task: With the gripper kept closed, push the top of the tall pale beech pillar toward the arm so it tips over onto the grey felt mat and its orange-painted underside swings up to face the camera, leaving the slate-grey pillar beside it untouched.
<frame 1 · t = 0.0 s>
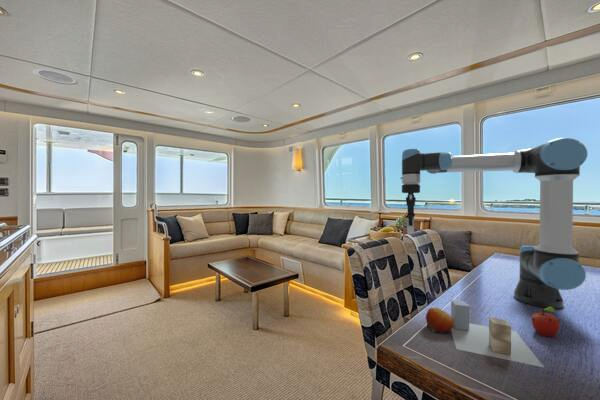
hand: (410, 231, 114), 28 cm above the table, fingers open, 13 cm apart
slate block: (459, 327, 83), resting on felt mat
apple: (545, 336, 79), on the table
felt mat: (488, 340, 76), on the table
fruit: (439, 331, 82), on the table
beech block: (499, 349, 71), resting on felt mat
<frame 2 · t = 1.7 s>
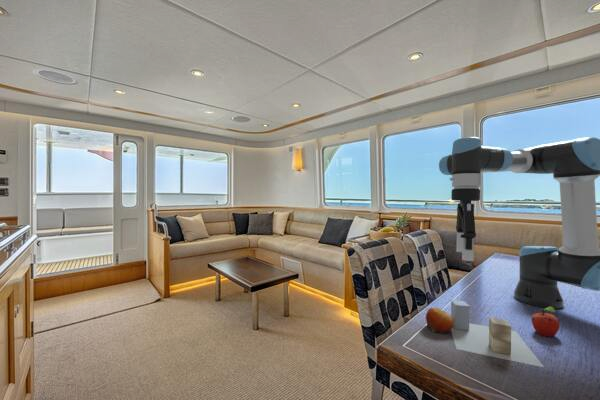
hand: (464, 256, 79), 25 cm above the table, fingers open, 13 cm apart
nothing on the table moved.
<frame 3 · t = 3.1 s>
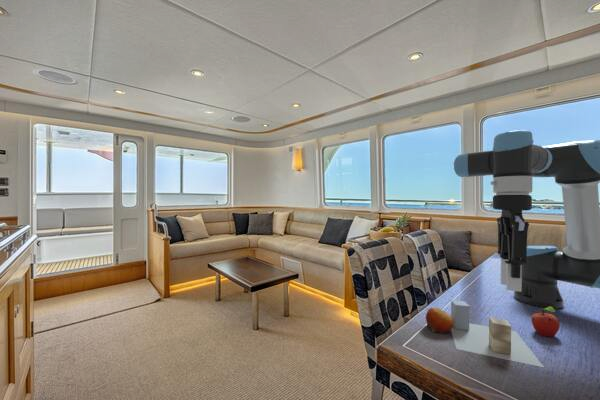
hand: (510, 287, 64), 21 cm above the table, fingers open, 4 cm apart
nothing on the table moved.
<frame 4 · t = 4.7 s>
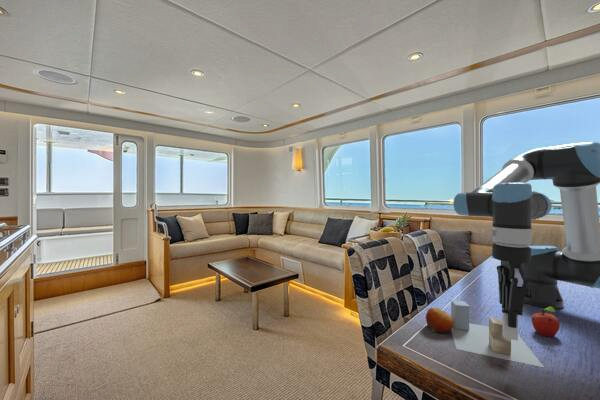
hand: (509, 337, 64), 8 cm above the table, fingers closed
nothing on the table moved.
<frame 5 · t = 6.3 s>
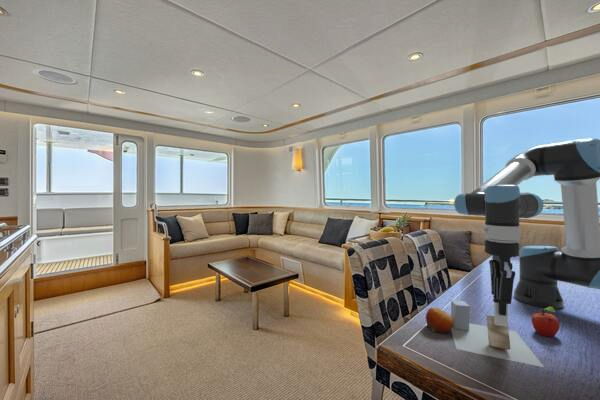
hand: (500, 324, 71), 8 cm above the table, fingers closed
beech block: (499, 347, 71), point 1 cm above the table, tilted 21°, touching felt mat
everything else where it was.
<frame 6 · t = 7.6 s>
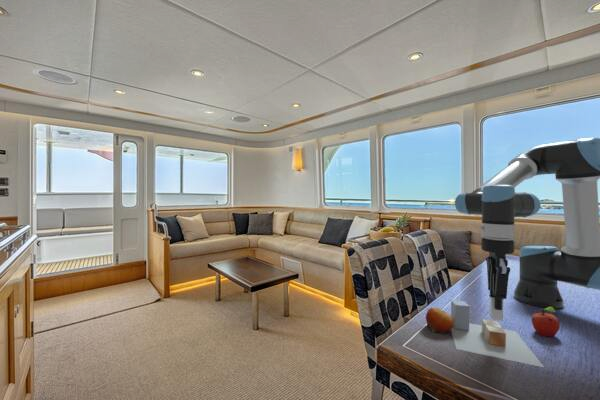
hand: (496, 319, 74), 8 cm above the table, fingers closed
beech block: (497, 339, 73), point 2 cm above the table, tilted 90°, touching felt mat
everything else where it was.
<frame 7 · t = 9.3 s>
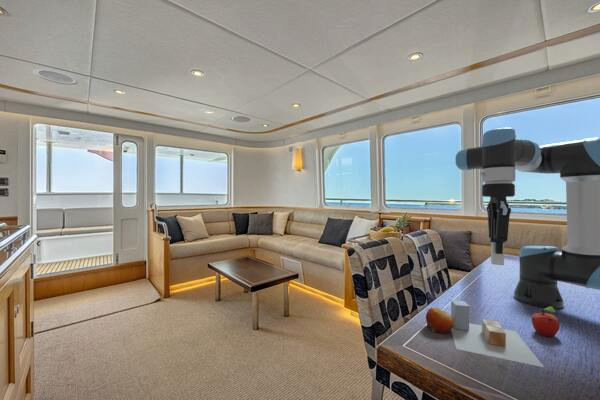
hand: (497, 264, 74), 24 cm above the table, fingers closed
nothing on the table moved.
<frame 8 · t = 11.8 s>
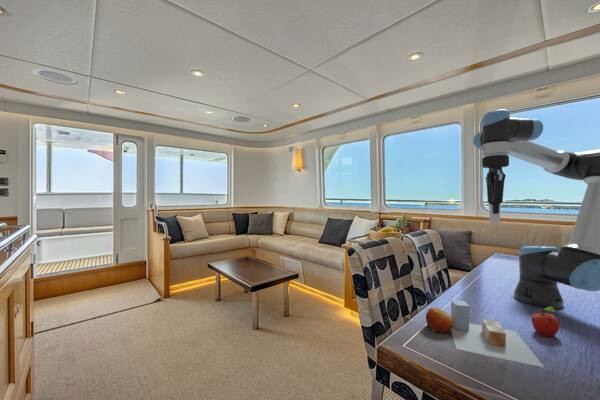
hand: (494, 222, 89), 34 cm above the table, fingers closed
nothing on the table moved.
at the end: beech block tilted 90°; beech block inside the target area (1.6 cm from its centre), point 2.4 cm above the table; slate block moved 0.0 cm from its start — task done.
